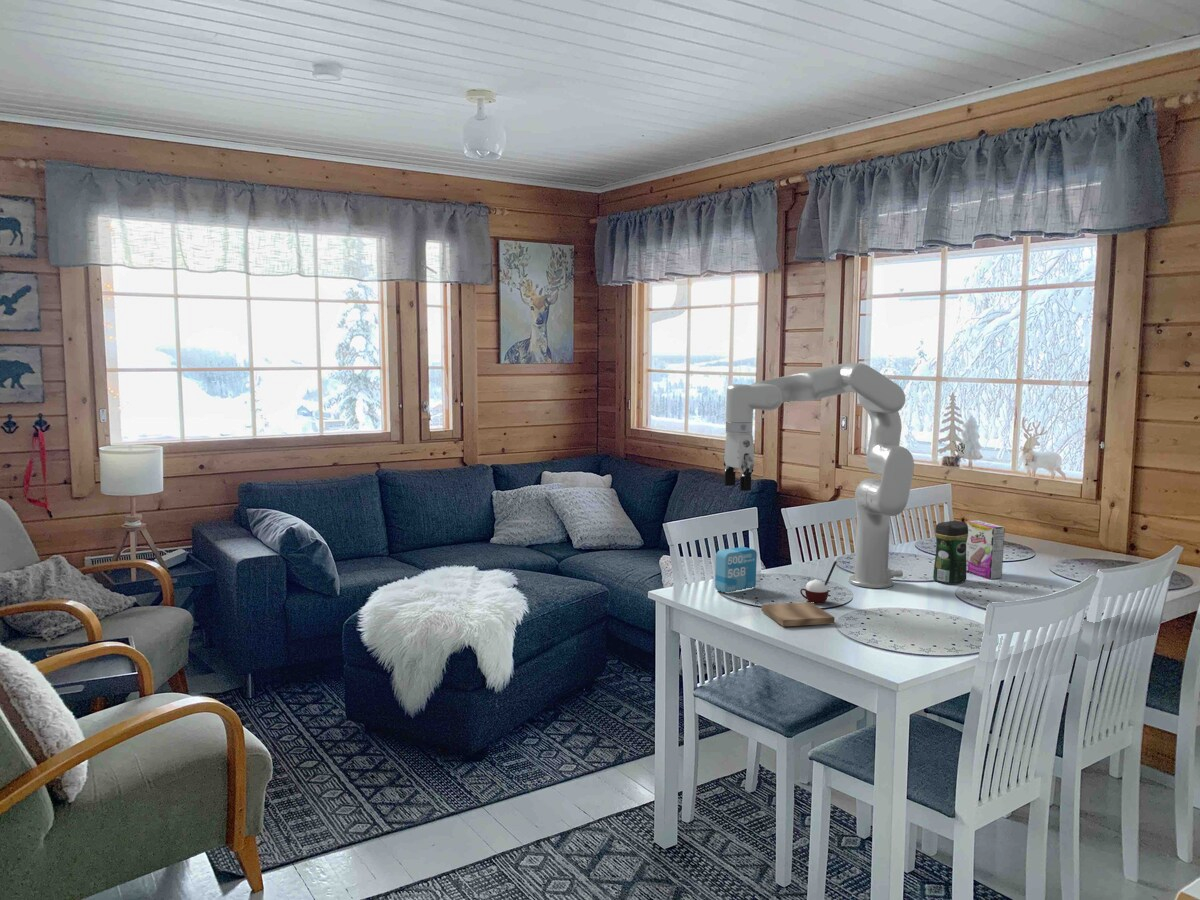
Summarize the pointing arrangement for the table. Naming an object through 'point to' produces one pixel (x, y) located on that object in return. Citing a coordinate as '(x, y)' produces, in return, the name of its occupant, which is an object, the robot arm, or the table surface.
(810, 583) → the cocoa
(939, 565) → the coffee jar
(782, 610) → the stand
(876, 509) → the robot arm
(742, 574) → the data package
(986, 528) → the candy bar box
